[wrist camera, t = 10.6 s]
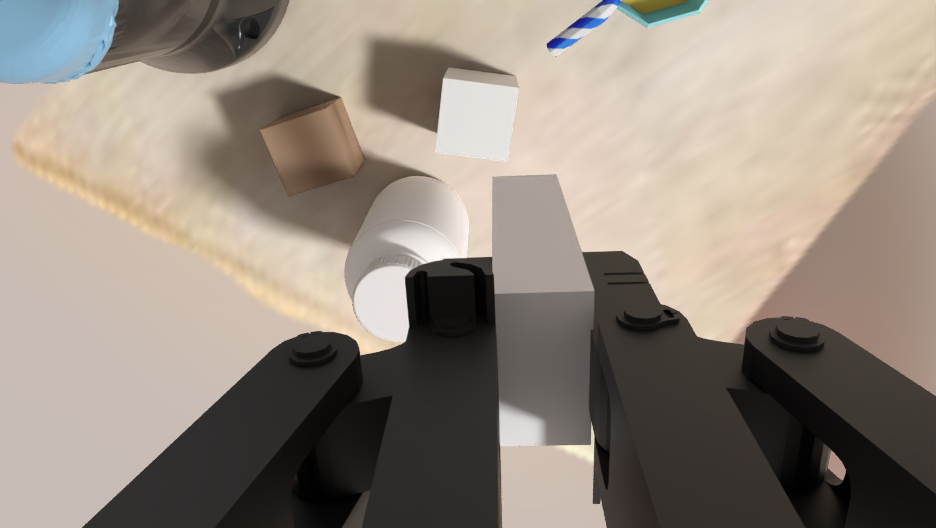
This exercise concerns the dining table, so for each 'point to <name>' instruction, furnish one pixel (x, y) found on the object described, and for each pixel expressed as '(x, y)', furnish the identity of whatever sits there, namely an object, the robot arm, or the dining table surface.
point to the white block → (477, 114)
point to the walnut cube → (313, 147)
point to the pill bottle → (401, 249)
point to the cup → (644, 3)
